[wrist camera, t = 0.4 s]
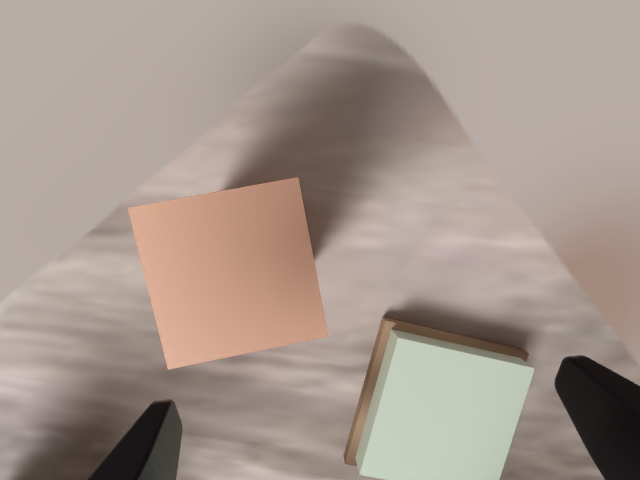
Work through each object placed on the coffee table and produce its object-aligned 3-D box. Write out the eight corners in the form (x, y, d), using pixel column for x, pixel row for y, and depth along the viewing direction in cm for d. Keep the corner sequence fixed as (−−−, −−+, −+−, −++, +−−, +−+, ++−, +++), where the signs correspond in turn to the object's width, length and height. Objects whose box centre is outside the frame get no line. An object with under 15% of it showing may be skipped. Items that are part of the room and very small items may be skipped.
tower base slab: (474, 474, 27) (485, 490, 25) (342, 448, 26) (345, 463, 24) (515, 344, 26) (528, 353, 24) (379, 313, 25) (385, 320, 23)
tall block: (309, 266, 23) (328, 336, 12) (231, 281, 23) (167, 369, 11) (294, 188, 23) (298, 177, 11) (214, 202, 23) (127, 208, 11)
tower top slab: (481, 481, 25) (493, 498, 24) (355, 457, 24) (359, 474, 23) (519, 357, 24) (534, 368, 23) (391, 328, 23) (398, 337, 22)
